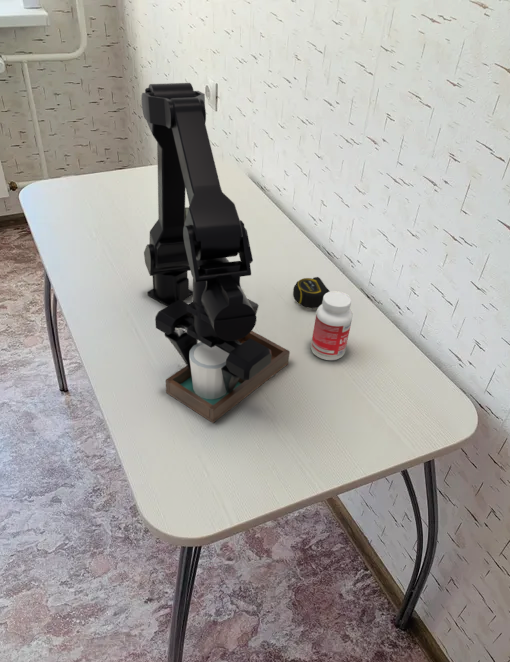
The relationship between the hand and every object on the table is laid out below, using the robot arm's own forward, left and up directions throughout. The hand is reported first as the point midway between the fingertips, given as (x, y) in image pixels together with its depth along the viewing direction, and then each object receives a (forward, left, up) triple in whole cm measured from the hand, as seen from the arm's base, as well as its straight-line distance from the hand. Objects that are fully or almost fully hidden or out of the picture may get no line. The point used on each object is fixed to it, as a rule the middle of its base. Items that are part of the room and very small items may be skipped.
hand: (210, 379), depth 98 cm
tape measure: (-3, +33, -3) cm, 33 cm away
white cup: (0, 0, -2) cm, 2 cm away
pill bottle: (+8, +22, -3) cm, 24 cm away
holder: (0, +5, -2) cm, 5 cm away
